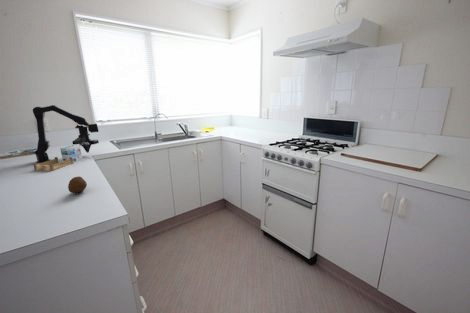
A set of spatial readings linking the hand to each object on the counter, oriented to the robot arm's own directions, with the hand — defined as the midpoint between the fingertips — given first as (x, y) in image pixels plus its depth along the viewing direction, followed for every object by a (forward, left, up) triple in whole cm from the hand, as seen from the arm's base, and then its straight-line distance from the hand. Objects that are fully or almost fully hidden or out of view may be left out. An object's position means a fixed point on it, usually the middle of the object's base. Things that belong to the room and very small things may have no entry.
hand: (87, 152), depth 179 cm
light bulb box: (0, -15, -3) cm, 15 cm away
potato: (+52, -68, -3) cm, 86 cm away
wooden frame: (0, -30, -2) cm, 30 cm away
